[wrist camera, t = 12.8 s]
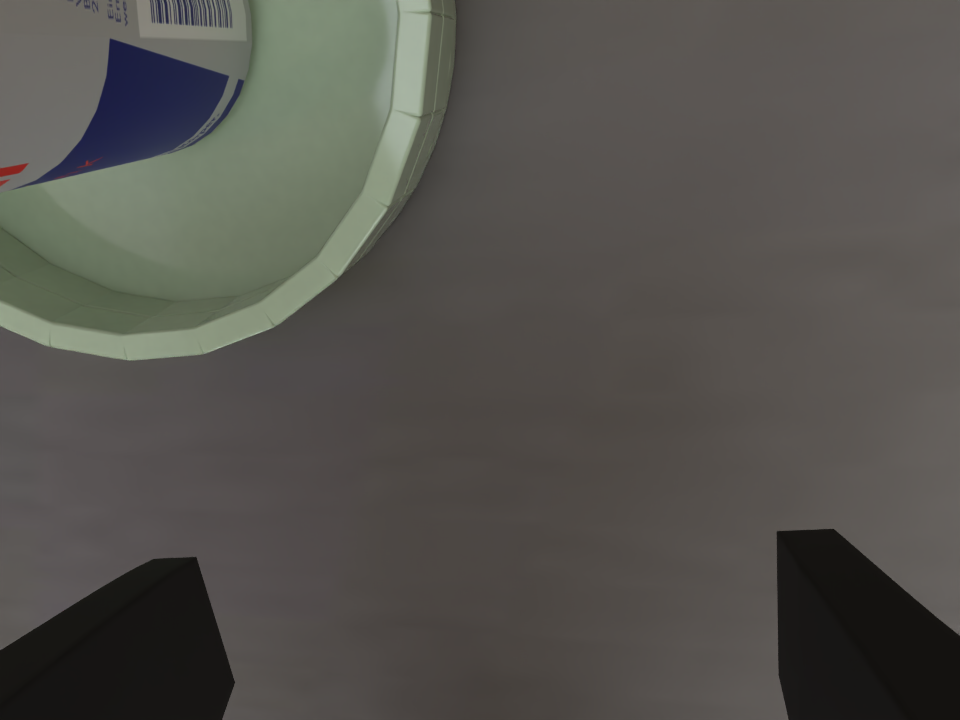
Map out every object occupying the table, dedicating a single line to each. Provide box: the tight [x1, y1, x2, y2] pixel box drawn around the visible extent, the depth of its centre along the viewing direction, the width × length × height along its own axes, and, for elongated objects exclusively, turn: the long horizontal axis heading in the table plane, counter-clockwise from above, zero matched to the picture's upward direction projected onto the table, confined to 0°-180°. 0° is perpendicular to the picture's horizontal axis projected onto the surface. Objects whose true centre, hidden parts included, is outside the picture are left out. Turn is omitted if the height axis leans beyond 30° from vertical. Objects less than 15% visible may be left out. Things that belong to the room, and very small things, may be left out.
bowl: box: [0, 0, 456, 361], centre depth 16 cm, size 13×13×3 cm
